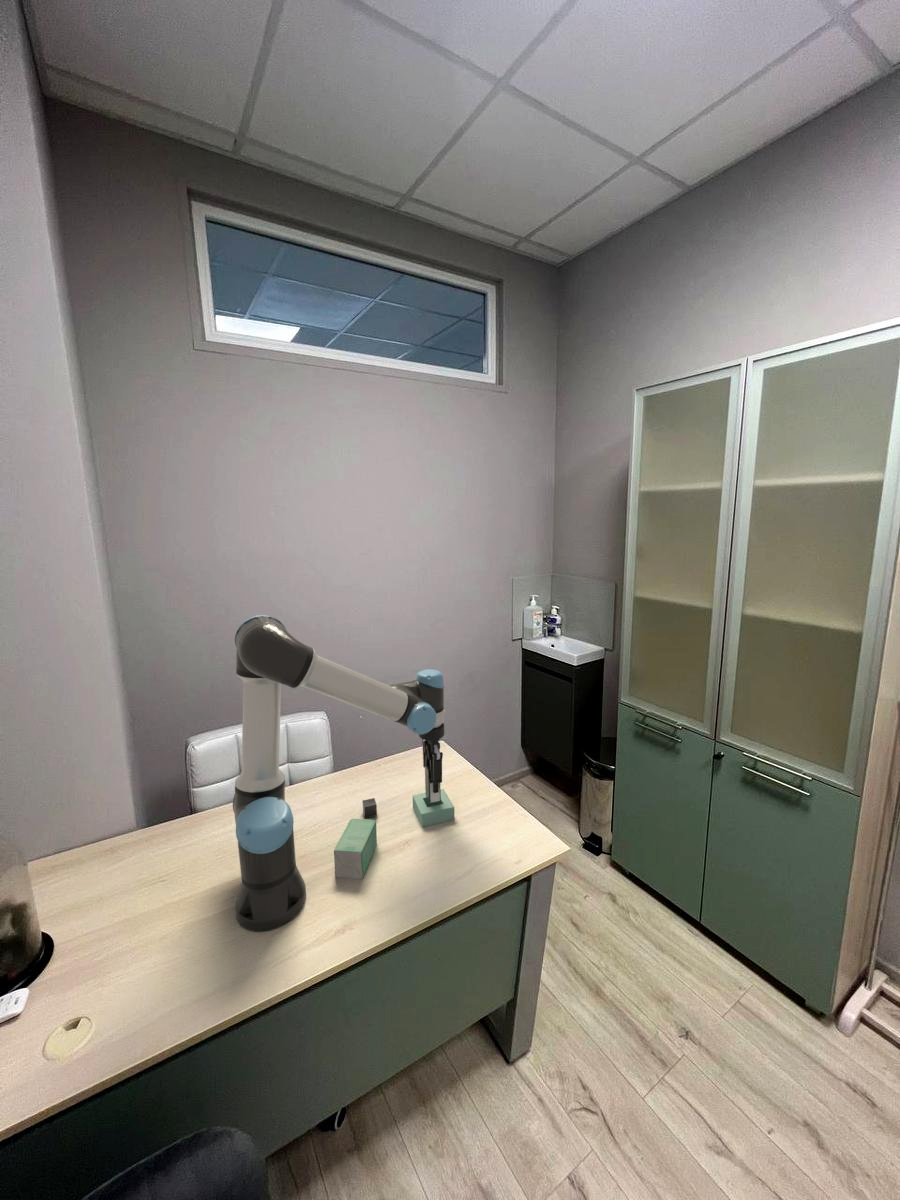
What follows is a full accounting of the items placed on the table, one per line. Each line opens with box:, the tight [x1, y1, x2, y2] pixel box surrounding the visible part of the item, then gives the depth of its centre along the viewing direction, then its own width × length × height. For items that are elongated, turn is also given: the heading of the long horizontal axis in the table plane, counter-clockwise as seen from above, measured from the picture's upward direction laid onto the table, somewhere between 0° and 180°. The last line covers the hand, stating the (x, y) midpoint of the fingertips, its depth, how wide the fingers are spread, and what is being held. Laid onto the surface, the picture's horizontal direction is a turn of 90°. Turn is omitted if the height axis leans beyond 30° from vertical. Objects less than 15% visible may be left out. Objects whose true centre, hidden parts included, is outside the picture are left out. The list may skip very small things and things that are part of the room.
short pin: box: [361, 797, 378, 819], centre depth 142 cm, size 4×4×4 cm
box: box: [333, 818, 378, 880], centre depth 123 cm, size 7×14×8 cm, turn 173°
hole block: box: [412, 788, 456, 827], centre depth 142 cm, size 10×10×4 cm
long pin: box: [424, 764, 441, 802], centre depth 141 cm, size 4×4×10 cm
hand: (432, 796), depth 141 cm, fingers closed on long pin, 4 cm apart
